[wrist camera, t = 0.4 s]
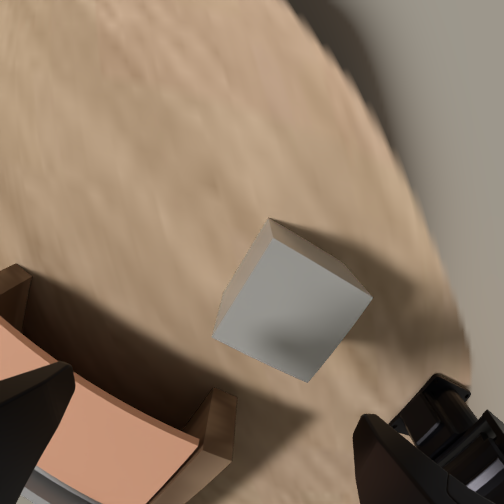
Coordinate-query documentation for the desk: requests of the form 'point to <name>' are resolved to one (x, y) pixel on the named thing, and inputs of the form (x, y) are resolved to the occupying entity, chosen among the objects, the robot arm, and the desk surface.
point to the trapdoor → (96, 441)
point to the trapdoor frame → (200, 426)
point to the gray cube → (289, 303)
